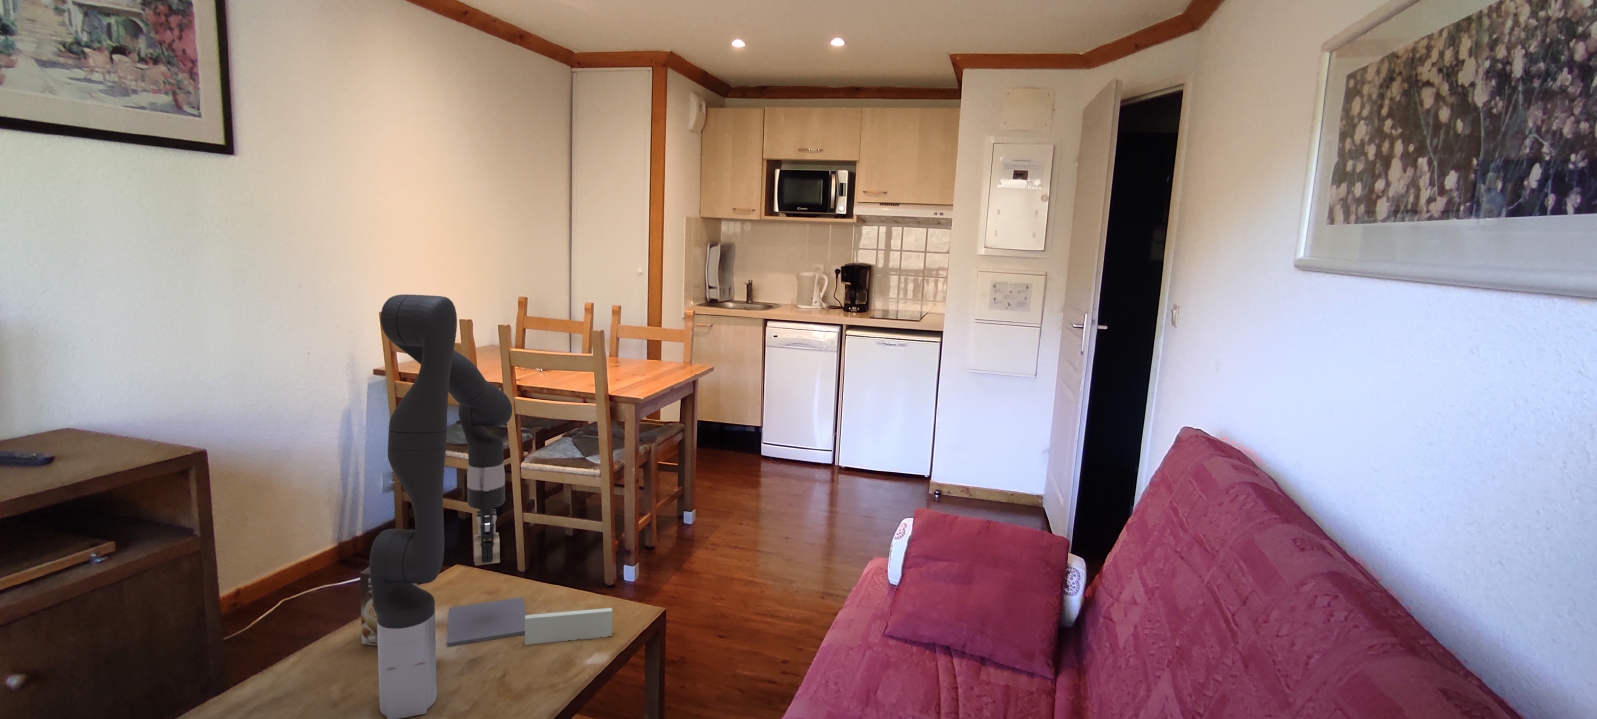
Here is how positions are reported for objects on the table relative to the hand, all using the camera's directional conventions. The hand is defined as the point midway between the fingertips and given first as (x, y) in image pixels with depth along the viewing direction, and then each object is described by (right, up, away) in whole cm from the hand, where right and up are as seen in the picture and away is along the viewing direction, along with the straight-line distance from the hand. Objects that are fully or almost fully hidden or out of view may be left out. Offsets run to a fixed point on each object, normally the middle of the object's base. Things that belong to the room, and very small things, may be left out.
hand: (486, 556), depth 159 cm
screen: (+19, -17, -3) cm, 26 cm away
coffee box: (-18, -16, -6) cm, 25 cm away
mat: (-1, -15, +2) cm, 16 cm away
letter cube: (0, -1, 0) cm, 1 cm away
